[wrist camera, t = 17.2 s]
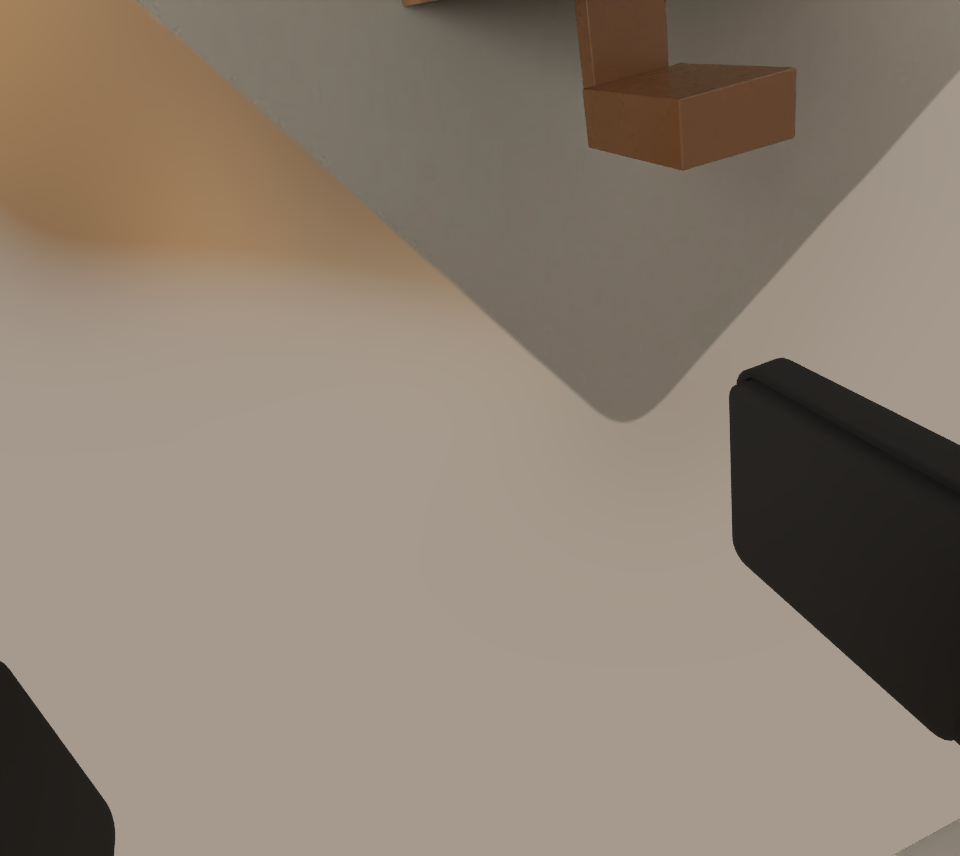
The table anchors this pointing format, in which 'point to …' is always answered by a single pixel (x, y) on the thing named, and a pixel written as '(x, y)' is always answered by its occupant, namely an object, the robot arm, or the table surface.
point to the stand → (415, 2)
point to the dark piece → (672, 92)
